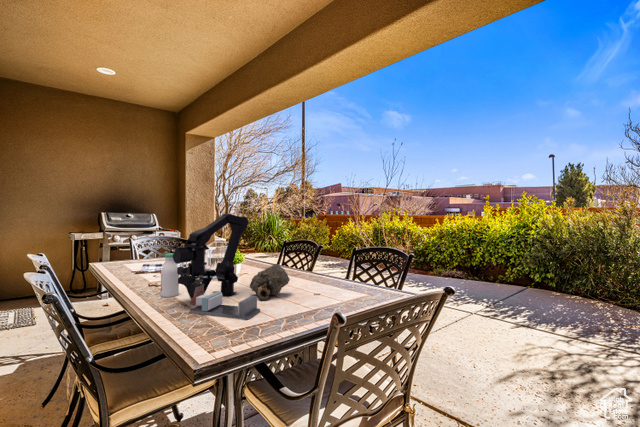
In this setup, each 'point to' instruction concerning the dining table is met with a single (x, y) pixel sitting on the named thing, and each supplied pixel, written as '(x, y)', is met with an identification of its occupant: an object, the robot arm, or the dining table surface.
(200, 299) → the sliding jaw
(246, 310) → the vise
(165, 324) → the dining table surface
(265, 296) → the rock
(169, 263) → the milk bottle
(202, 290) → the lighter
